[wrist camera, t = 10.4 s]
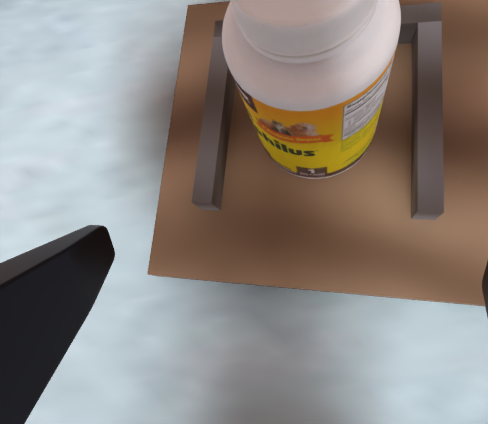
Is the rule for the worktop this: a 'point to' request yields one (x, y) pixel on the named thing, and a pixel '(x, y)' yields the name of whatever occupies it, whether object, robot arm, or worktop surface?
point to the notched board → (339, 186)
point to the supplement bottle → (312, 76)
